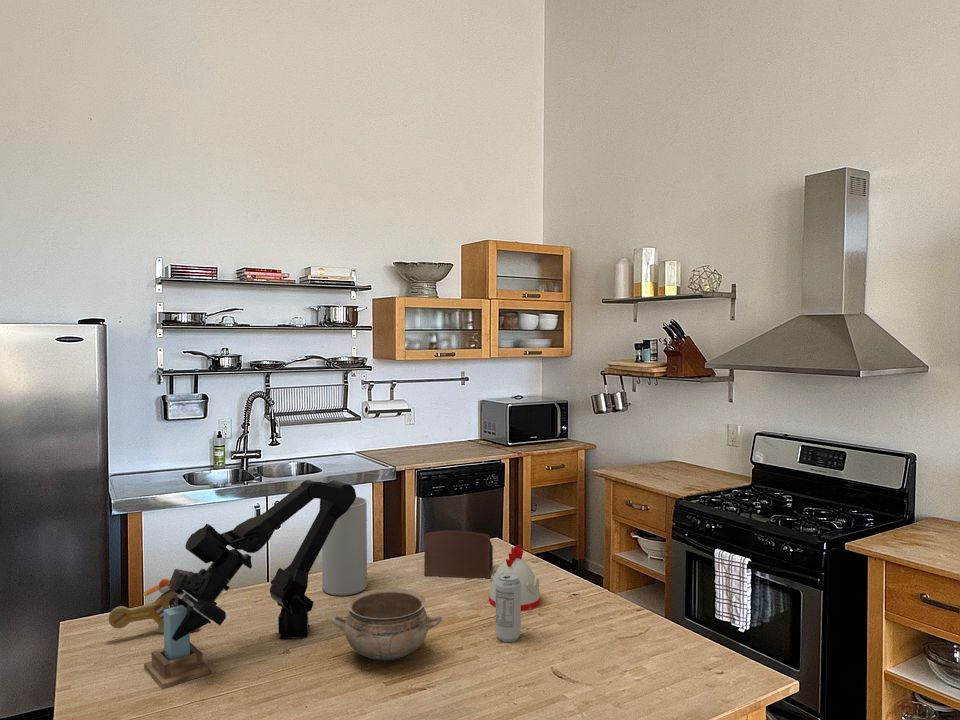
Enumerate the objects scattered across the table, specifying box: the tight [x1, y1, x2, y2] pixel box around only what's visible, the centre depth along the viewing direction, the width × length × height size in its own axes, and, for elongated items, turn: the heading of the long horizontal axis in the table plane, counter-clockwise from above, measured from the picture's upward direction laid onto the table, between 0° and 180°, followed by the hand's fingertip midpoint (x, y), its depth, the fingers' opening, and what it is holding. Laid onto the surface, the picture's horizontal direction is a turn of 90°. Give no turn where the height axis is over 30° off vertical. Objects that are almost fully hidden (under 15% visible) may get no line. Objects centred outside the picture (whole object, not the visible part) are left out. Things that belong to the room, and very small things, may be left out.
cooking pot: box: [331, 588, 443, 663], centre depth 162 cm, size 25×19×12 cm
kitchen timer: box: [488, 544, 541, 612], centre depth 194 cm, size 14×14×15 cm
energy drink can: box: [495, 573, 522, 643], centre depth 172 cm, size 6×6×15 cm
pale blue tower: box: [163, 605, 191, 661], centre depth 155 cm, size 4×4×12 cm
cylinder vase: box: [321, 496, 368, 597], centre depth 203 cm, size 12×12×25 cm
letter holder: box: [423, 530, 494, 580], centre depth 217 cm, size 10×20×14 cm, turn 84°
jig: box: [143, 641, 212, 690], centre depth 155 cm, size 10×12×4 cm
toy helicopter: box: [108, 578, 196, 634], centre depth 174 cm, size 8×21×14 cm, turn 122°
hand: (170, 636), depth 154 cm, fingers closed on pale blue tower, 4 cm apart
